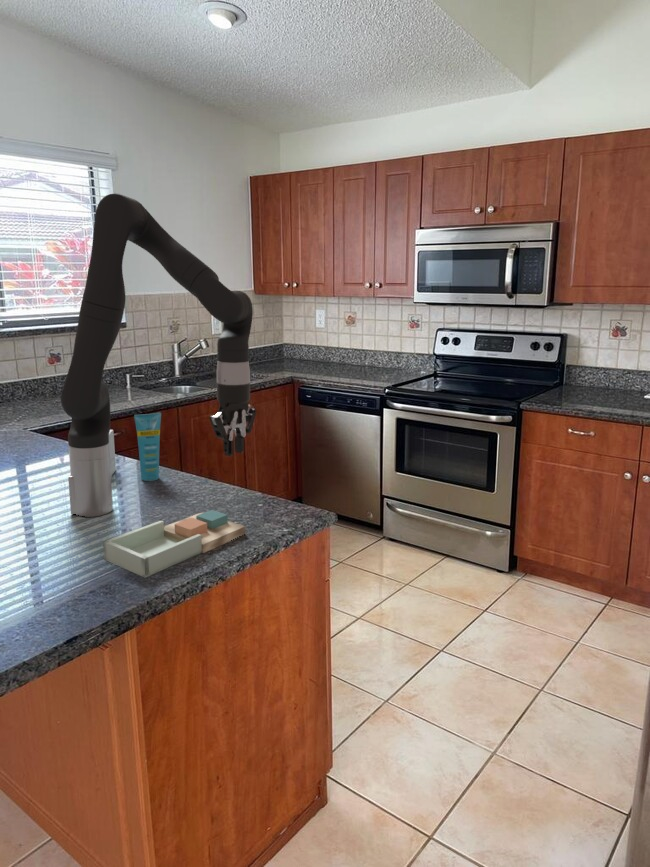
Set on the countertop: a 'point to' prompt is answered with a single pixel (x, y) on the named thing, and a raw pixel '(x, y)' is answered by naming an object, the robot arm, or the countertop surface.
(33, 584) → the countertop surface
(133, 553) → the box
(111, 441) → the supplement box
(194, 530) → the terracotta tile
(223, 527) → the maple plate
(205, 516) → the teal square block
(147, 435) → the tube
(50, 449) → the countertop surface
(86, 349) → the robot arm
